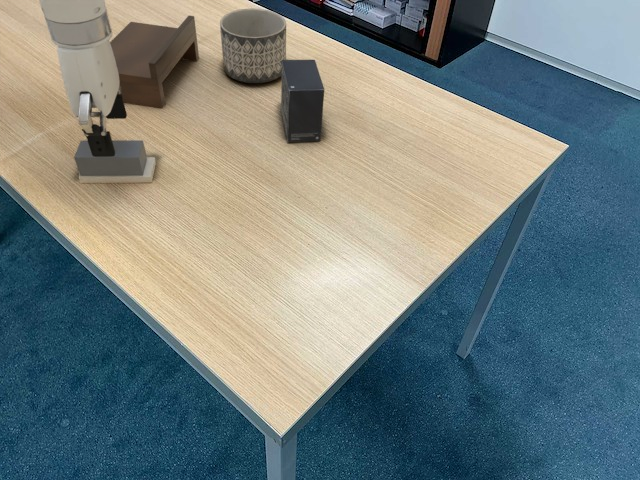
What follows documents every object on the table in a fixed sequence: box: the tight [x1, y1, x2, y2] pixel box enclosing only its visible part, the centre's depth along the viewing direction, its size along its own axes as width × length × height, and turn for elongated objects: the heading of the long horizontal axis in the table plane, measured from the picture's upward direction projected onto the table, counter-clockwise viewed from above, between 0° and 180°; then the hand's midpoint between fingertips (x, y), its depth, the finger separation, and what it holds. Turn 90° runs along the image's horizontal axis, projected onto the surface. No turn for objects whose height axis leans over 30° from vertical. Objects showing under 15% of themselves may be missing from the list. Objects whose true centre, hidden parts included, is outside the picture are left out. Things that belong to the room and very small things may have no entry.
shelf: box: [110, 14, 200, 109], centre depth 105 cm, size 14×20×9 cm
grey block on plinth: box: [73, 139, 157, 184], centre depth 86 cm, size 11×5×5 cm, turn 94°
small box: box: [280, 59, 325, 143], centre depth 96 cm, size 11×6×10 cm, turn 9°
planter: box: [219, 7, 287, 84], centre depth 108 cm, size 13×13×10 cm
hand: (110, 135), depth 82 cm, fingers open, 9 cm apart
